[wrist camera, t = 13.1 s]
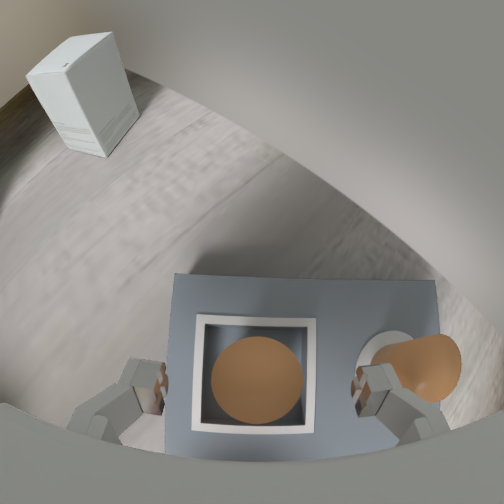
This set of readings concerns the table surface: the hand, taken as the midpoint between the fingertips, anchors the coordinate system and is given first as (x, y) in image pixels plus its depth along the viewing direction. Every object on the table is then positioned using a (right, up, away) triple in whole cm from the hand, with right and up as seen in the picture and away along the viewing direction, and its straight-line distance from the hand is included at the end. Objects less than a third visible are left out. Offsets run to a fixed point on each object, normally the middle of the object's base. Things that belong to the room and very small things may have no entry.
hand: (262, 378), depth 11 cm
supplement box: (-19, +20, +19) cm, 33 cm away
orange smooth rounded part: (0, -4, +9) cm, 10 cm away
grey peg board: (+5, -4, +10) cm, 12 cm away
